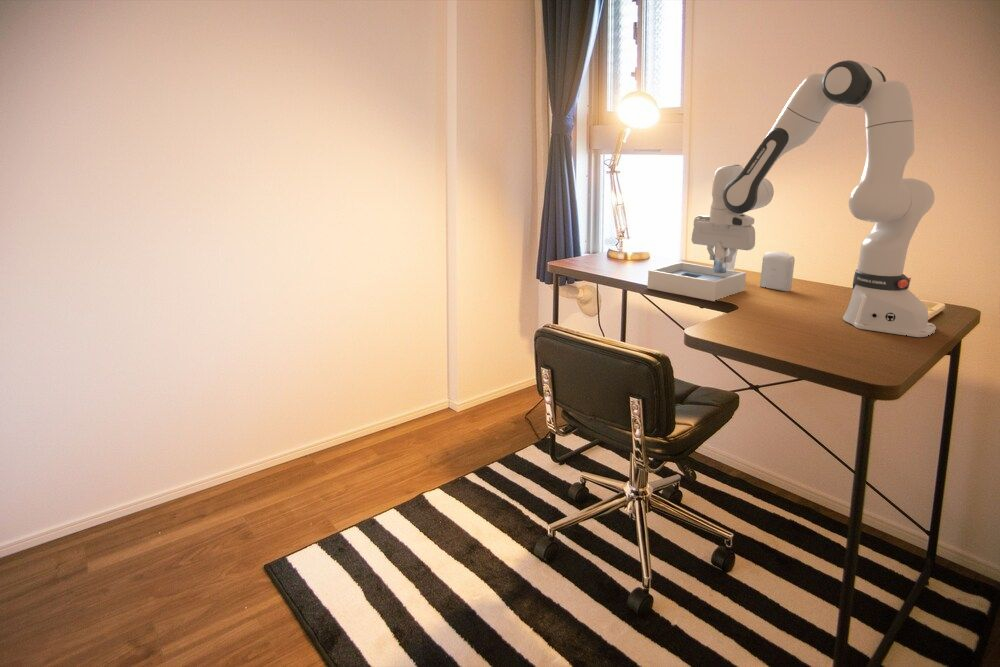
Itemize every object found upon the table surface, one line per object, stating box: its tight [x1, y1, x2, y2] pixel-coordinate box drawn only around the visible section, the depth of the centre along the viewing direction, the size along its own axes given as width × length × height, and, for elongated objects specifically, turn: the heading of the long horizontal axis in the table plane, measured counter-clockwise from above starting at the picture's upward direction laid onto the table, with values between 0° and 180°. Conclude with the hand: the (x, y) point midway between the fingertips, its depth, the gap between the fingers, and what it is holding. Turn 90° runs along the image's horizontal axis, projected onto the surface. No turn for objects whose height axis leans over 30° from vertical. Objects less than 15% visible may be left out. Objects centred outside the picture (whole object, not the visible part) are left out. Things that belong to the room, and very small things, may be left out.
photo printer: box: [759, 250, 796, 292], centre depth 234 cm, size 10×4×12 cm, turn 39°
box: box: [646, 261, 747, 302], centre depth 233 cm, size 24×20×6 cm
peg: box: [712, 242, 728, 273], centre depth 228 cm, size 4×4×10 cm
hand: (720, 261), depth 228 cm, fingers closed on peg, 4 cm apart
